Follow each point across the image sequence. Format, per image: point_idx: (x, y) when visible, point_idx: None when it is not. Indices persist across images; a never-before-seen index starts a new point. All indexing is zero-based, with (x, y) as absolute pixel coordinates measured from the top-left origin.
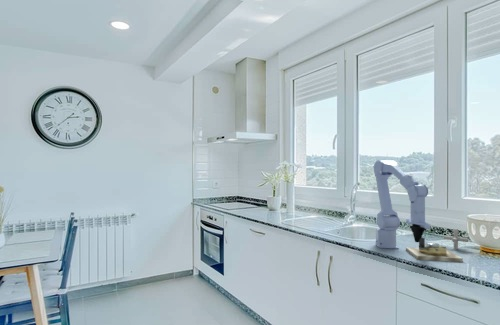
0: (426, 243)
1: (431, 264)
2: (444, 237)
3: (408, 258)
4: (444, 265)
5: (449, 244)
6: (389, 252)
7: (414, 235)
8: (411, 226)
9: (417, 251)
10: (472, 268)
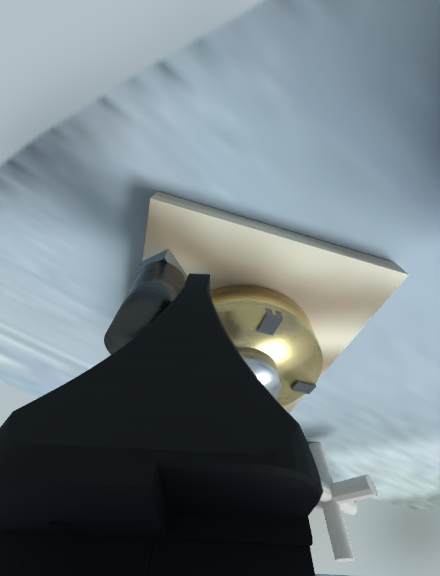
0: (254, 365)
1: (44, 214)
2: (365, 484)
3: (188, 134)
4: (46, 275)
5: (377, 461)
6: (419, 58)
7: (186, 313)
8: (150, 469)
9: (277, 281)
10: (33, 352)
